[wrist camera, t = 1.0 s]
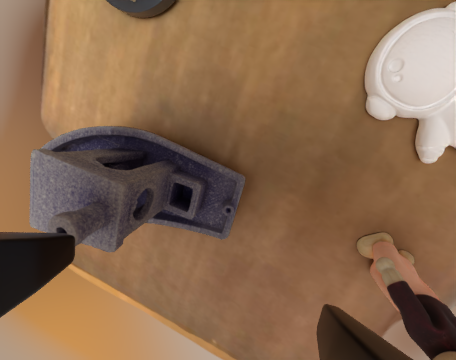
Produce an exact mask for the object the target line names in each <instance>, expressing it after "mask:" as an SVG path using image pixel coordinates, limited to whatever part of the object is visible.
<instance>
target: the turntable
mask: <svg viewBox="0 0 456 360" xmlns="http://www.w3.org/2000/svg"><path fill="white" fill-rule="evenodd" d="M106 1H107V2H109V3H110V4H111V5H112V6H114V7H116V8H117V9H119V10H121V11H123V12H124V13H126V14H128V15H131V16H134V17H140V18H146V17H152V16H155V15H157V14H160V13H162V12H163V11H165V10H166V9H167V8H168V7H170V6H171V5H172V4H173V3H174V1H175V0H106Z"/></svg>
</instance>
